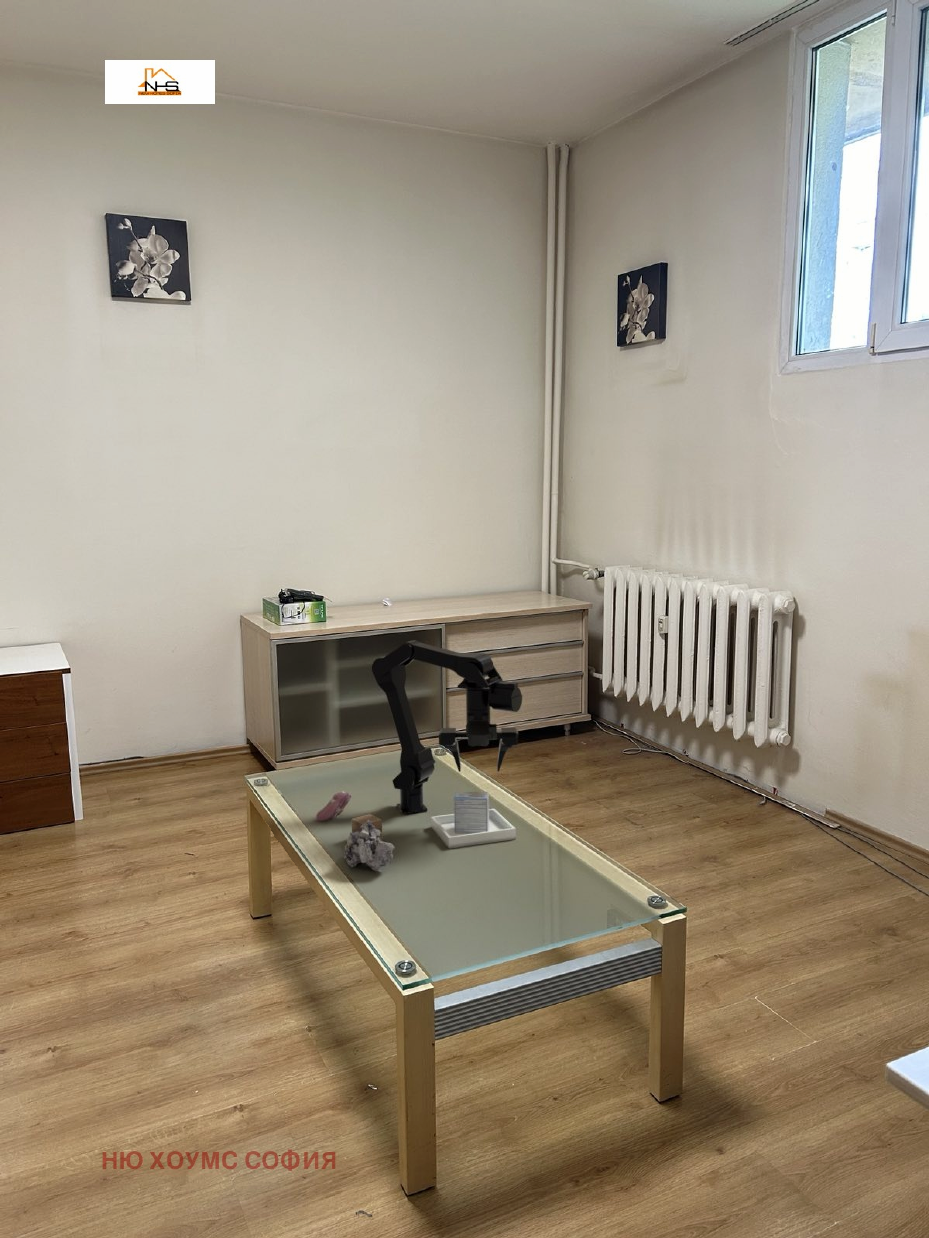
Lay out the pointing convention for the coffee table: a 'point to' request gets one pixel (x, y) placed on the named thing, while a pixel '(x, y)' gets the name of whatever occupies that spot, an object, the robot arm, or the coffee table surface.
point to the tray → (497, 832)
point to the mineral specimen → (368, 848)
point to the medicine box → (471, 812)
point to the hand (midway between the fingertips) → (479, 771)
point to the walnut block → (363, 820)
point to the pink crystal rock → (334, 806)
